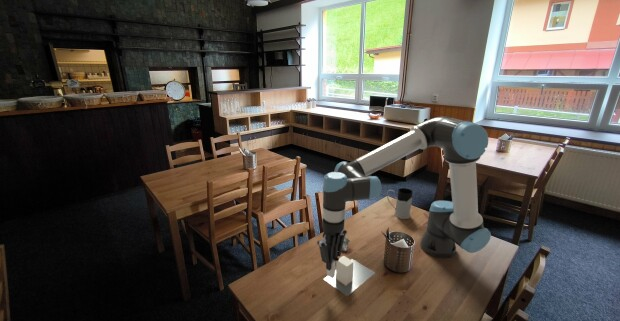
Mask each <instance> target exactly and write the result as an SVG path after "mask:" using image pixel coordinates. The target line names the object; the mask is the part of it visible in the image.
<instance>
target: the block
mask: <svg viewBox="0 0 620 321" xmlns="http://www.w3.org/2000/svg"><path fill="white" fill-rule="evenodd" d="M338 259H339V260H338V261H336V266H335V270H336V280H337V281H339V282H340V283H342V284H343V285H345V286H347V285H348V284H349V283H351V282H352V279H353V265H354V262H353V261H352V260H351V259H350V258H348V257H347V256H345V255H342V256H340V257H339V258H338Z"/></svg>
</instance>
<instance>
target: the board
mask: <svg viewBox="0 0 620 321" xmlns="http://www.w3.org/2000/svg"><path fill="white" fill-rule="evenodd" d="M350 260H352V261H353V262H354V265H353V279H352V282H351V283H349V284H348V285H347V286H345V285H343V284H342V283H340V282H339V281H337V280H336V269H335V276H334V277H333V278H331V277H330V276H328V275H327V276H326V277H324V278H323V280H324V281H325V282H327V284H329V285H331V286H332V287H333V288H335V289H336V290H338V291H339V292H340V293H341V294H343V295H345V297H348V296H350V294H352V293H353V292H354V291H356V290H357V289H358V288H359V287H360V286H362V285H363V284H365V282H366V281H367V280H369V279H370V278H371V277H372V276H374V275H375V274H376V272H375V271H373V270H371V269H370V268H368V267H367V266H364V265H363V264H362V263H360V262H358V261H357V260H355V259H353V258H351V259H350Z"/></svg>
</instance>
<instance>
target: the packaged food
mask: <svg viewBox="0 0 620 321" xmlns="http://www.w3.org/2000/svg"><path fill="white" fill-rule="evenodd" d="M349 242H351V241H350V239H349V238H347V237H346V236H345V238H344V242H343V247H342V251H341V252H347V250H348V248H347V247H348V243H349Z"/></svg>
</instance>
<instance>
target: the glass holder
mask: <svg viewBox="0 0 620 321" xmlns="http://www.w3.org/2000/svg"><path fill="white" fill-rule="evenodd" d="M390 191H391V192H393V196H394V198H395V199H396V205H393V203H391V201H390V198H389V192H390ZM386 196H387V201H388V202H389V204H390V205H391V206H392V208H394V211H395V212H394V216H395V218H399V219H401V220H408V219H410V218H411V208H412V201H413V190H412V189H410V188H403V187H402V188H399V189H398V191H397V197H396V192H395V191H394V190H393V189H389V190H387V193H386Z"/></svg>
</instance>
